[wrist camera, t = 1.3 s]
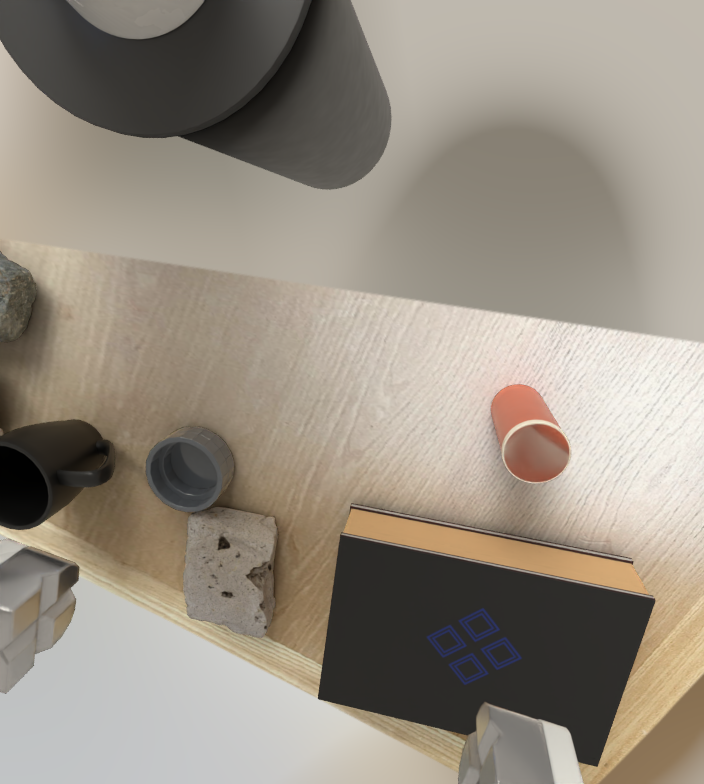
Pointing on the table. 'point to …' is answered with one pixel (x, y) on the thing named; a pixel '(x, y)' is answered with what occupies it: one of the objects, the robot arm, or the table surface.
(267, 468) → the table surface
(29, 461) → the mug
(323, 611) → the table surface
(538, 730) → the robot arm
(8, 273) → the rock
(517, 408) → the canister
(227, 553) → the stone
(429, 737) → the table surface
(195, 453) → the bowl
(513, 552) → the book
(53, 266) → the table surface
